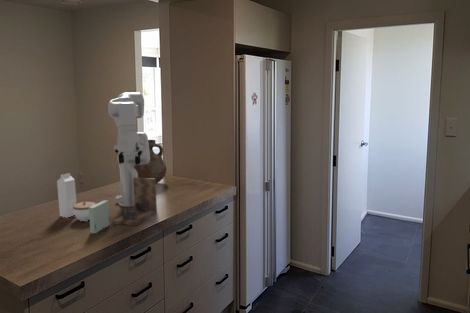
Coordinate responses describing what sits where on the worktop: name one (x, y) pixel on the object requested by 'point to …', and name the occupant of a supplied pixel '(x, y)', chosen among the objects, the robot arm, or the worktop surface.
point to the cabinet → (140, 202)
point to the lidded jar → (82, 210)
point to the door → (99, 216)
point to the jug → (153, 164)
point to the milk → (66, 195)
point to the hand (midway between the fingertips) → (129, 163)
